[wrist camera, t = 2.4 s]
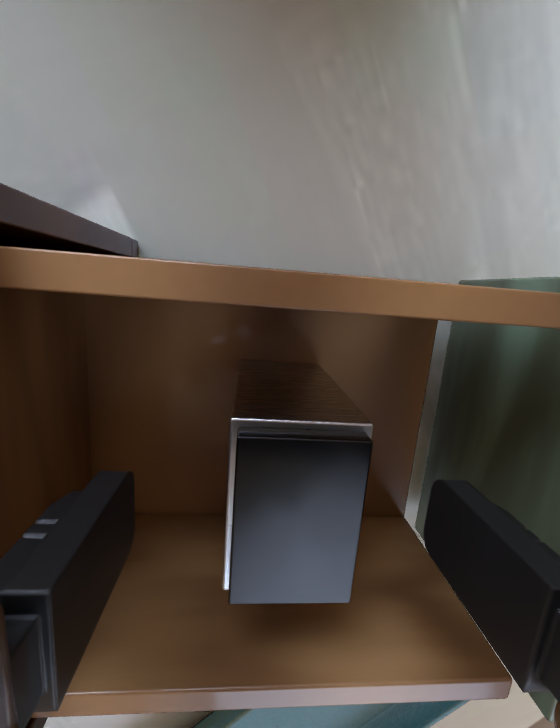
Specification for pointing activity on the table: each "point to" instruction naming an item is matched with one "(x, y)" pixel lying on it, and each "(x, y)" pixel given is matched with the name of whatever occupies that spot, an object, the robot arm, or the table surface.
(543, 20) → the table surface
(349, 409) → the brushed metal box
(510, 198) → the table surface
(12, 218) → the cabinet
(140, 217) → the table surface
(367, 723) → the shallow long dish
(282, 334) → the drawer
